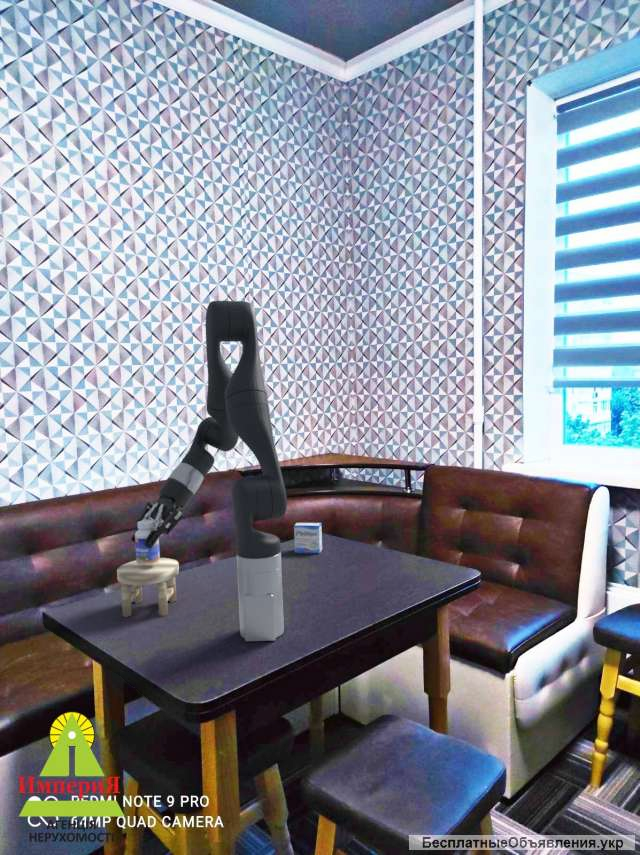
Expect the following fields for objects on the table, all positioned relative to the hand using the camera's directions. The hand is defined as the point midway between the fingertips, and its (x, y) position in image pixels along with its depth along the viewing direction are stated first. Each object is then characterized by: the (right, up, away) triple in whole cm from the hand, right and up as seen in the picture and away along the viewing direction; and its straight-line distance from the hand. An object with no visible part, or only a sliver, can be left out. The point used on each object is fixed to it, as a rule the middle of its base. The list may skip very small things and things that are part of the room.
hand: (140, 544), depth 141 cm
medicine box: (+38, -11, +45) cm, 60 cm away
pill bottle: (+1, -5, +2) cm, 5 cm away
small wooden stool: (+2, -16, +3) cm, 16 cm away
